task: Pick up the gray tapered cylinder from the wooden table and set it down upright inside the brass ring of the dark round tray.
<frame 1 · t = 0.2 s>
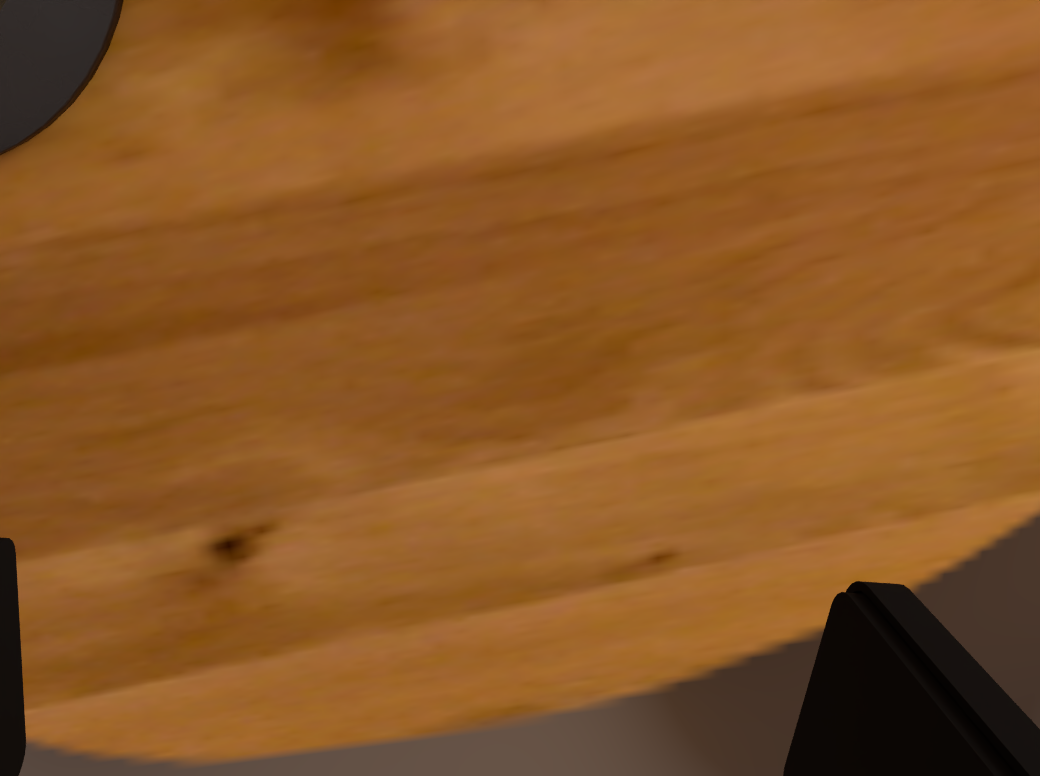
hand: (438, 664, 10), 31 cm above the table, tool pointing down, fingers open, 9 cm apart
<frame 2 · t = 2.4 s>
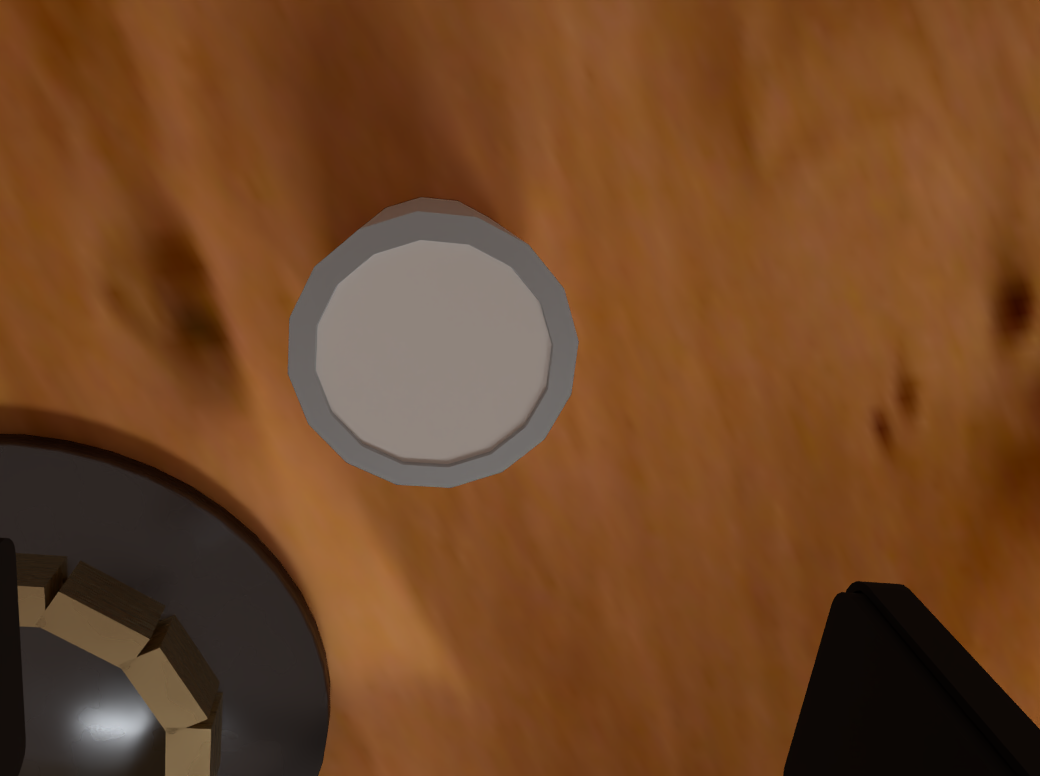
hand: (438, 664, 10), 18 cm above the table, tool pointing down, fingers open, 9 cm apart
gray tapered cylinder: (431, 287, 28), on the table
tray: (36, 700, 31), on the table
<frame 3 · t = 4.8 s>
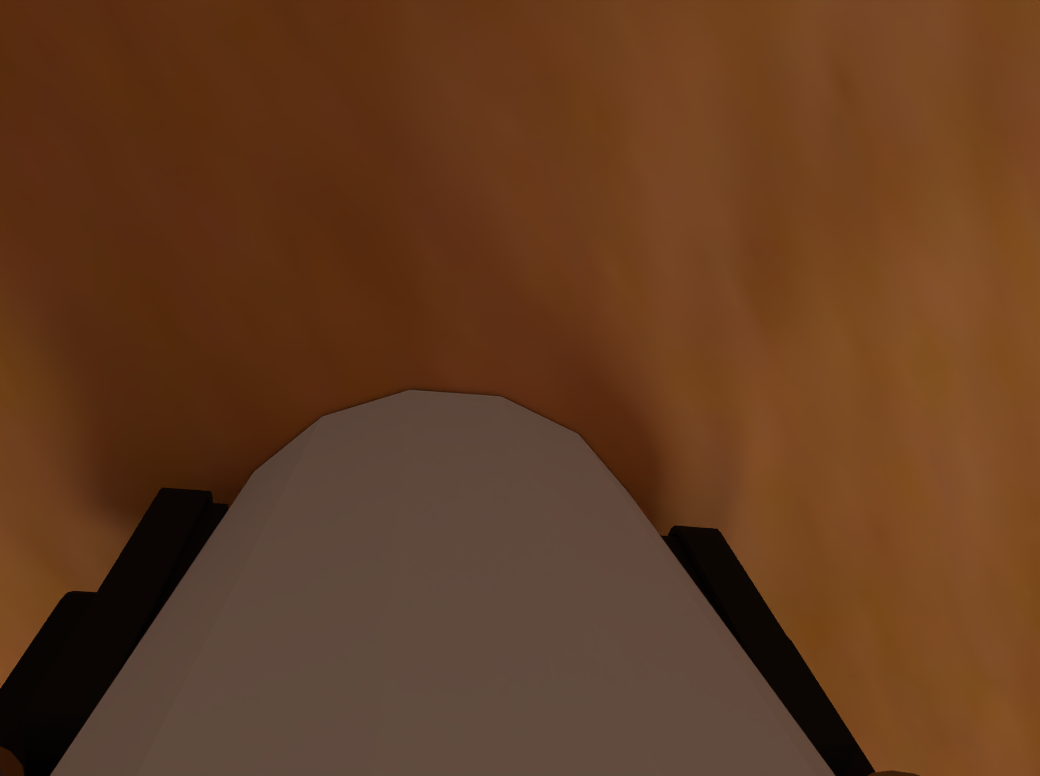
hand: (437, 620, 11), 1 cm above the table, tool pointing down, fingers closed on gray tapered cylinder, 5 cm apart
gray tapered cylinder: (436, 582, 12), on the table, touching gripper
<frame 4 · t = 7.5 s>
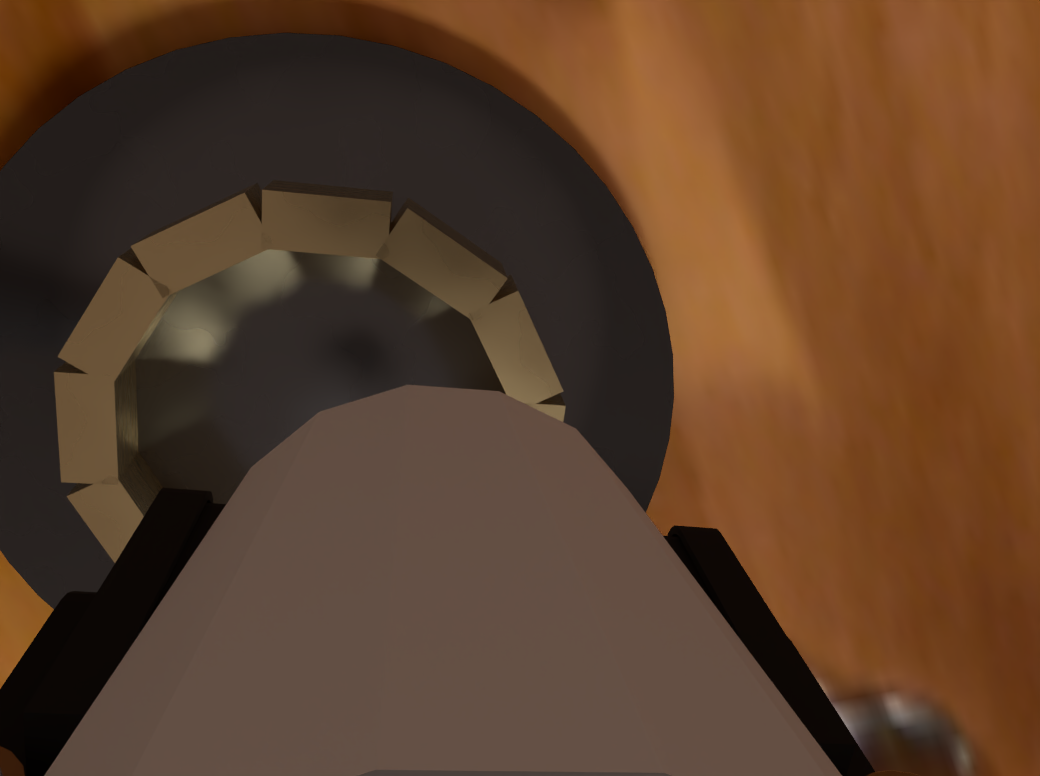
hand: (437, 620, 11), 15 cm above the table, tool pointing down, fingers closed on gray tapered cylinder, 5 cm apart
gray tapered cylinder: (434, 578, 12), point 14 cm above the table, touching gripper
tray: (327, 404, 26), on the table
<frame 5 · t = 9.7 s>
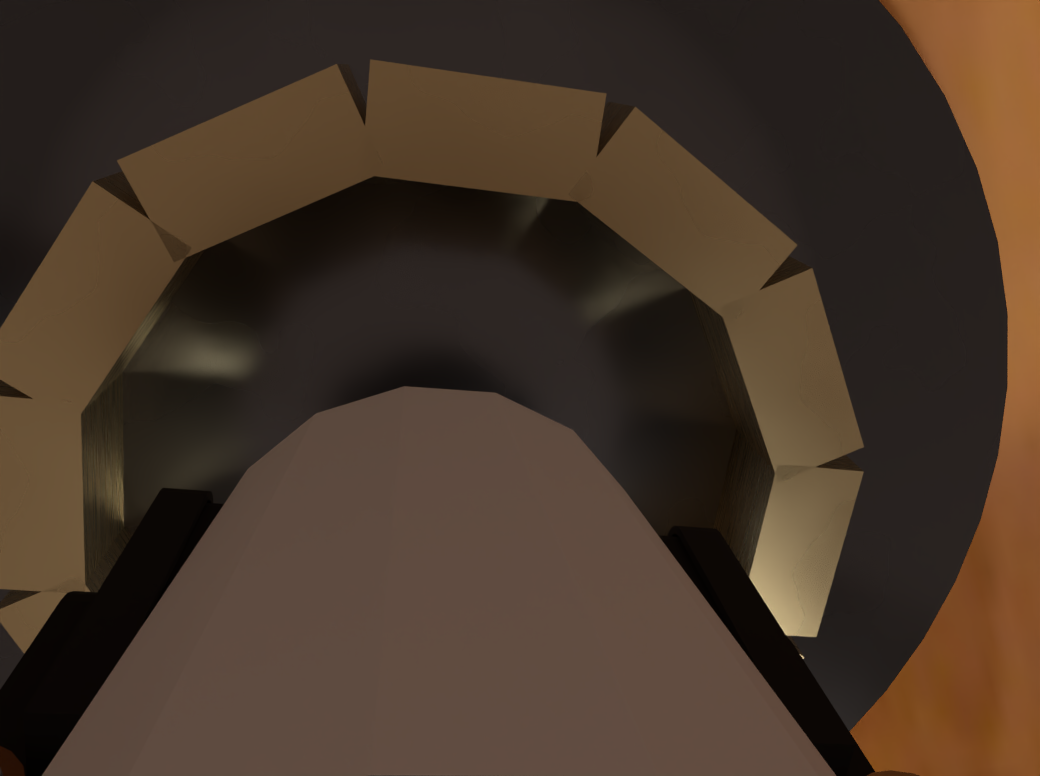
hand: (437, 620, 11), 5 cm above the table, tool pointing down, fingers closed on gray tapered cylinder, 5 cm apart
gray tapered cylinder: (431, 580, 12), point 4 cm above the table, touching gripper
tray: (435, 452, 16), on the table
when the fingers open (4 cm above the table, at t = 10.6 s): gray tapered cylinder drops 2 cm, resting on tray.
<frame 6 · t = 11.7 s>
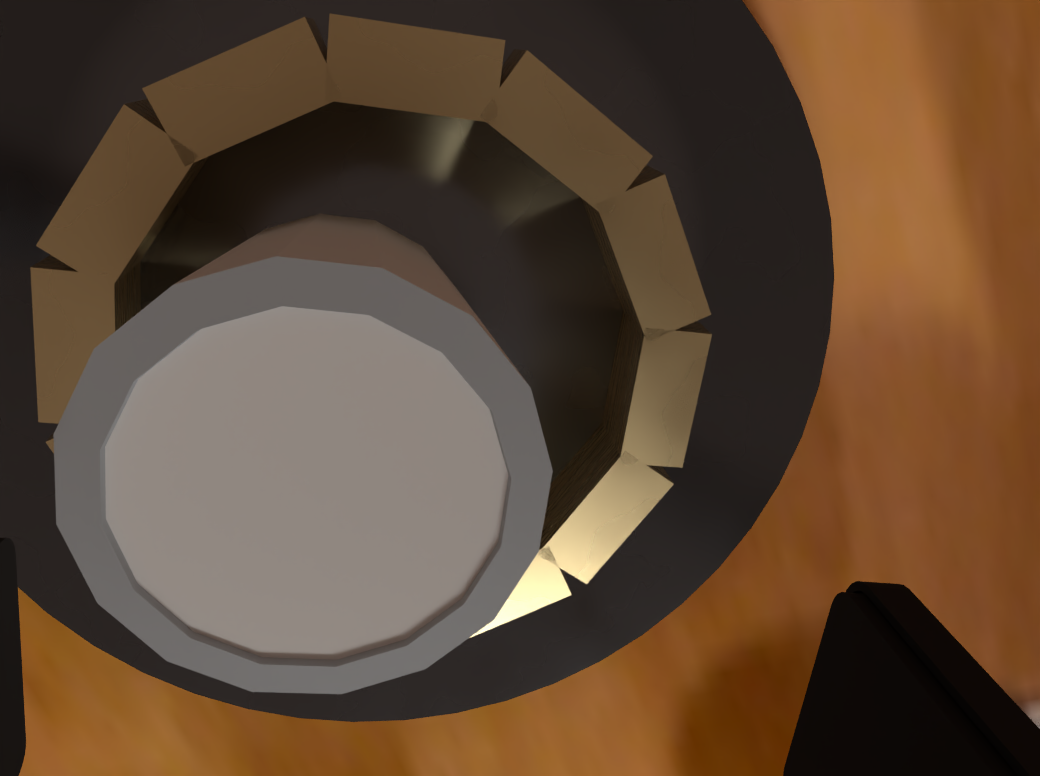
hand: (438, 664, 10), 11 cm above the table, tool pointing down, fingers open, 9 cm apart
gray tapered cylinder: (337, 343, 19), point 1 cm above the table, touching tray
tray: (387, 333, 20), on the table
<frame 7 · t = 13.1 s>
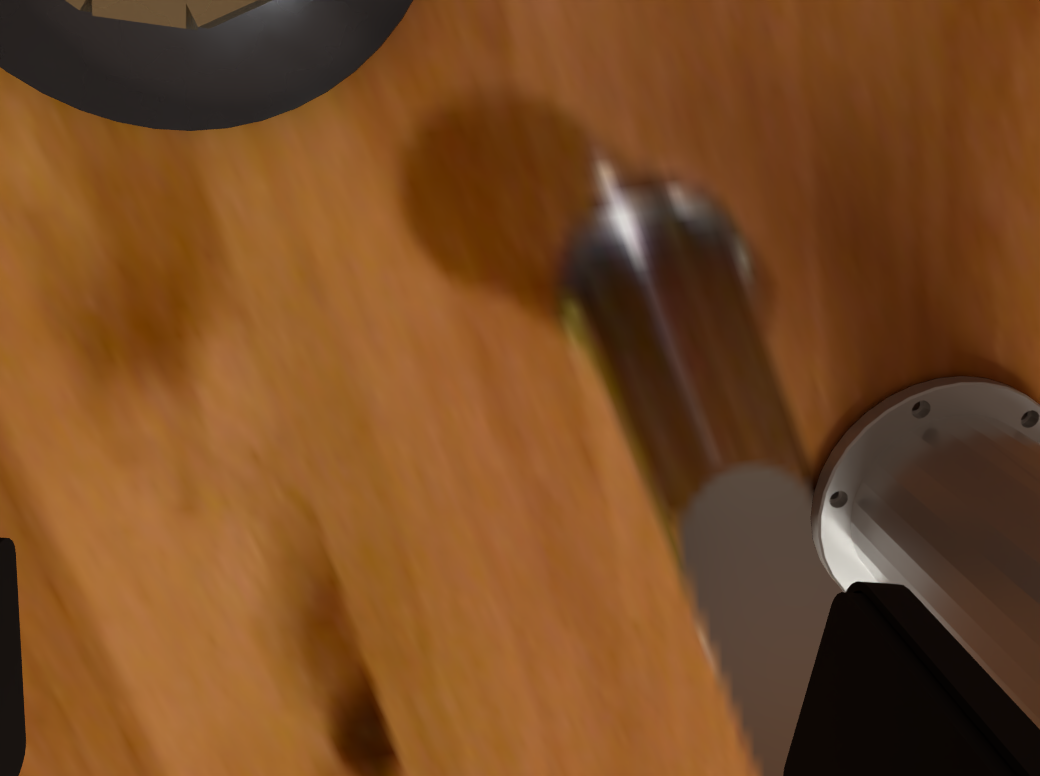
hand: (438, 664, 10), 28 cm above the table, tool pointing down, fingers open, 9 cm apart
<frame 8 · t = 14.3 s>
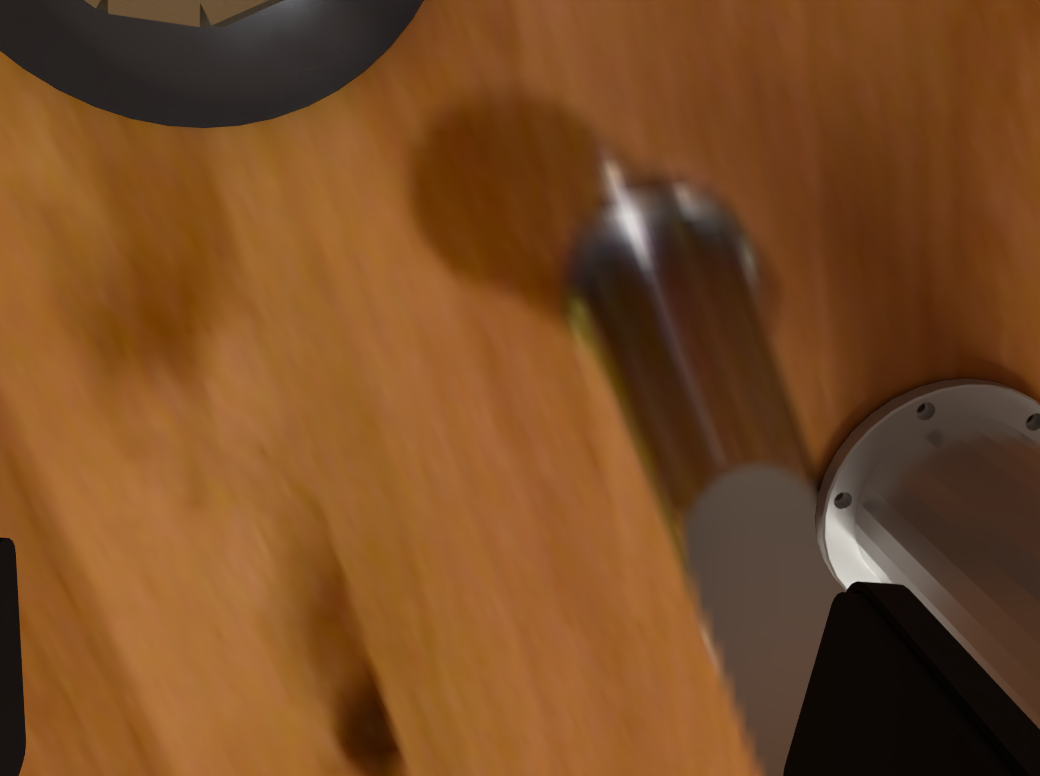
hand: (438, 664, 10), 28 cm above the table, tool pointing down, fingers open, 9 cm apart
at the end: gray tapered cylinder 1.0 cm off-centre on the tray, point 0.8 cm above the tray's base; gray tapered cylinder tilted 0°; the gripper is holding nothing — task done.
